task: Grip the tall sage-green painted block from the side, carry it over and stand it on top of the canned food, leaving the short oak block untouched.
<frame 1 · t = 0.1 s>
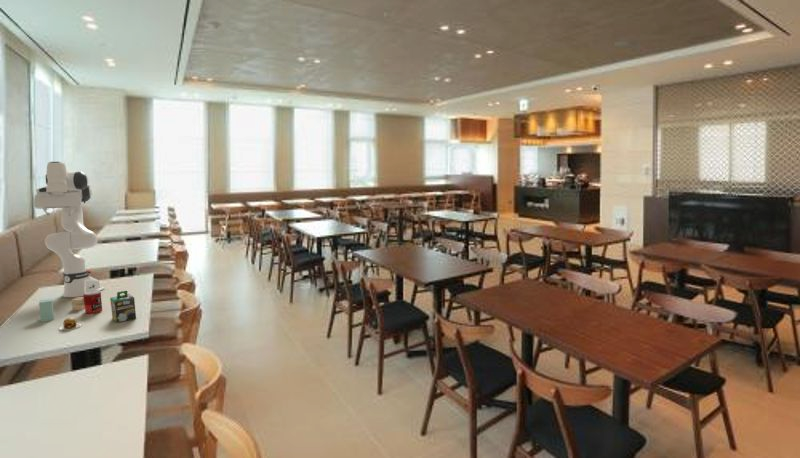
hand: (59, 215, 240), 52 cm above the table, tool tilted 20°, fingers open, 8 cm apart
canned food: (93, 312, 246), on the table
chalk box: (124, 319, 235), on the table
teal block: (47, 319, 234), on the table
oak block: (79, 308, 251), on the table
hamburger: (70, 329, 222), on the table
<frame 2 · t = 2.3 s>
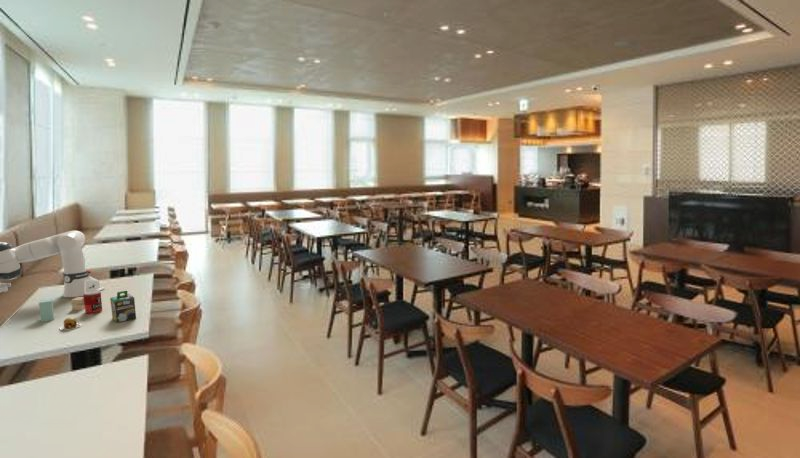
hand: (9, 287, 224), 19 cm above the table, tool horizontal, fingers open, 8 cm apart
nothing on the table moved.
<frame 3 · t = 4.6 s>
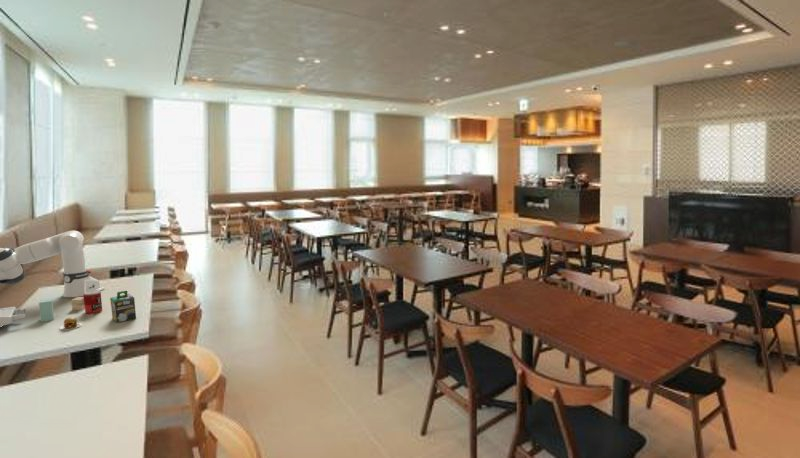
hand: (25, 312, 228), 5 cm above the table, tool horizontal, fingers open, 8 cm apart
nothing on the table moved.
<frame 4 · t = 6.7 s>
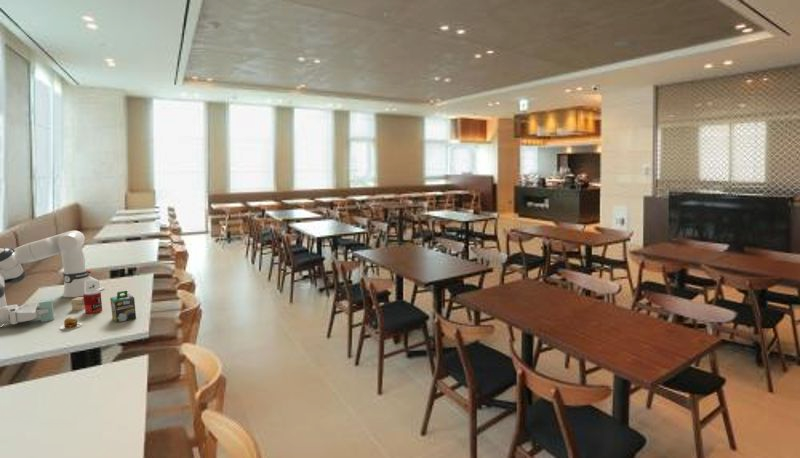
hand: (48, 308, 234), 6 cm above the table, tool horizontal, fingers closed on teal block, 5 cm apart
teal block: (47, 319, 234), on the table, touching gripper
everything else where it was.
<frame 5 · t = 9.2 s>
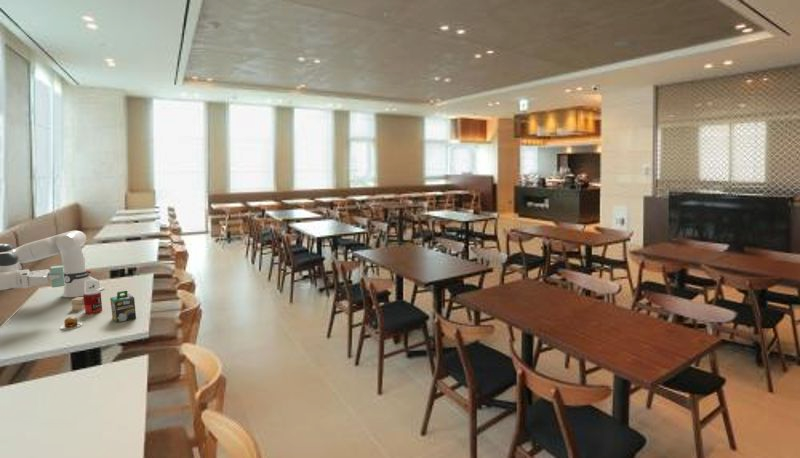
hand: (59, 275, 234), 23 cm above the table, tool horizontal, fingers closed on teal block, 5 cm apart
teal block: (58, 285, 234), point 17 cm above the table, touching gripper
when the fingers open (17 cm above the table, at t = 11.7 s): teal block stays where it is, resting on canned food.
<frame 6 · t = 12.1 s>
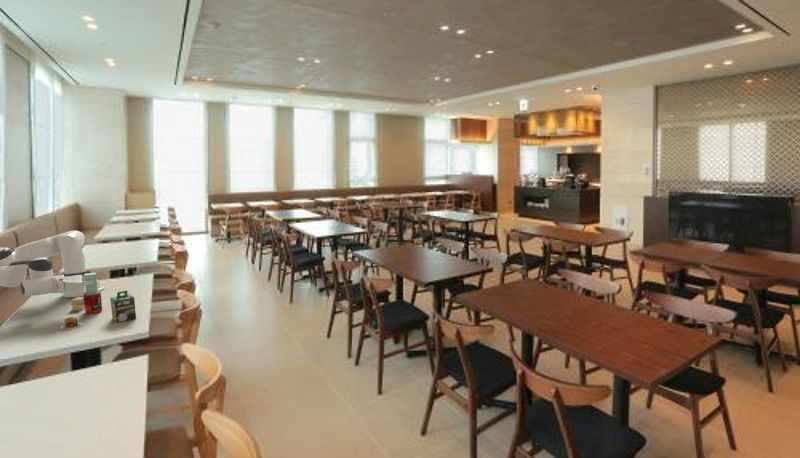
hand: (92, 280, 244), 17 cm above the table, tool horizontal, fingers open, 8 cm apart
canned food: (93, 312, 246), on the table, touching teal block
teal block: (91, 292, 245), point 11 cm above the table, touching canned food
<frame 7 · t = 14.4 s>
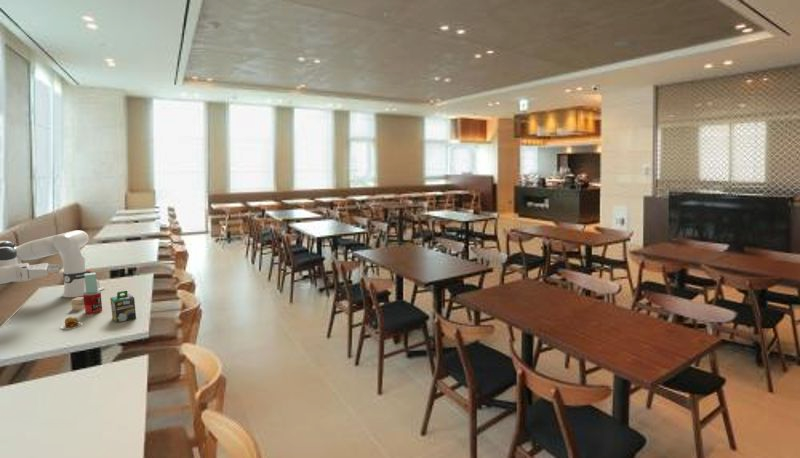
hand: (59, 267, 238), 25 cm above the table, tool horizontal, fingers open, 8 cm apart
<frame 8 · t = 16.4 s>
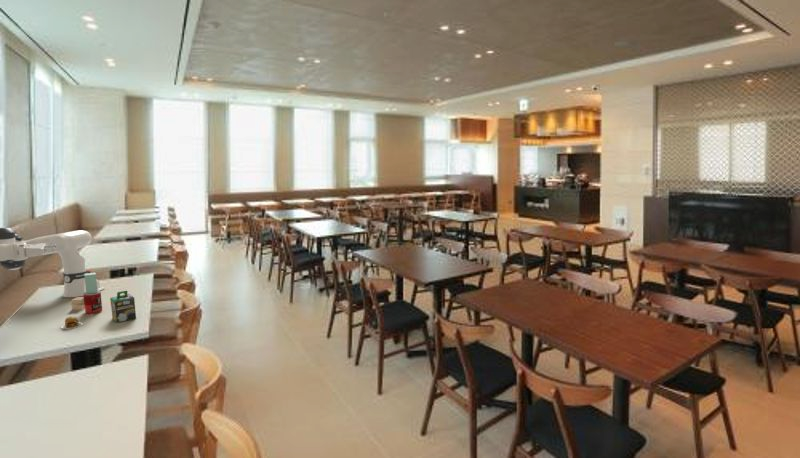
hand: (55, 247, 242), 35 cm above the table, tool horizontal, fingers open, 8 cm apart
at the end: teal block 0.0 cm from the canned food (horizontally); teal block point 11.0 cm above the table; teal block tilted 0° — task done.
